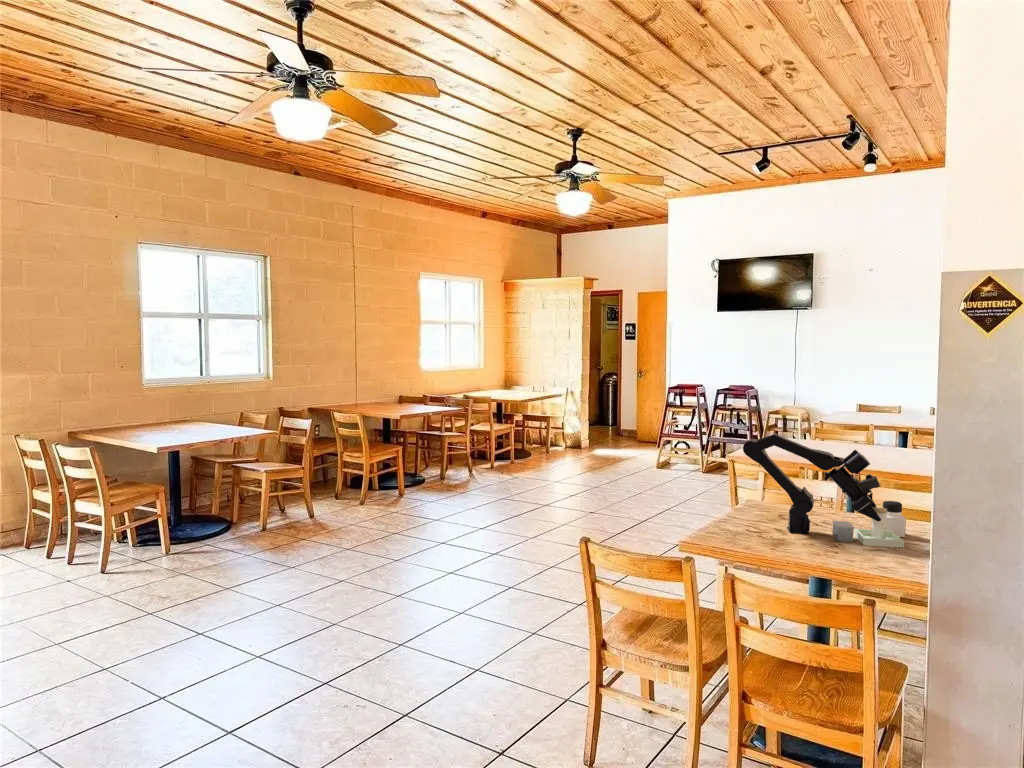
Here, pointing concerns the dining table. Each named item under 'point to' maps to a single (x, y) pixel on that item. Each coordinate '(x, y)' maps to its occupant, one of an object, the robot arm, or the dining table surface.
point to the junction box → (843, 531)
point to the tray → (866, 539)
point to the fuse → (879, 524)
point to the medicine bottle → (895, 518)
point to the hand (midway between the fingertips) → (880, 517)
